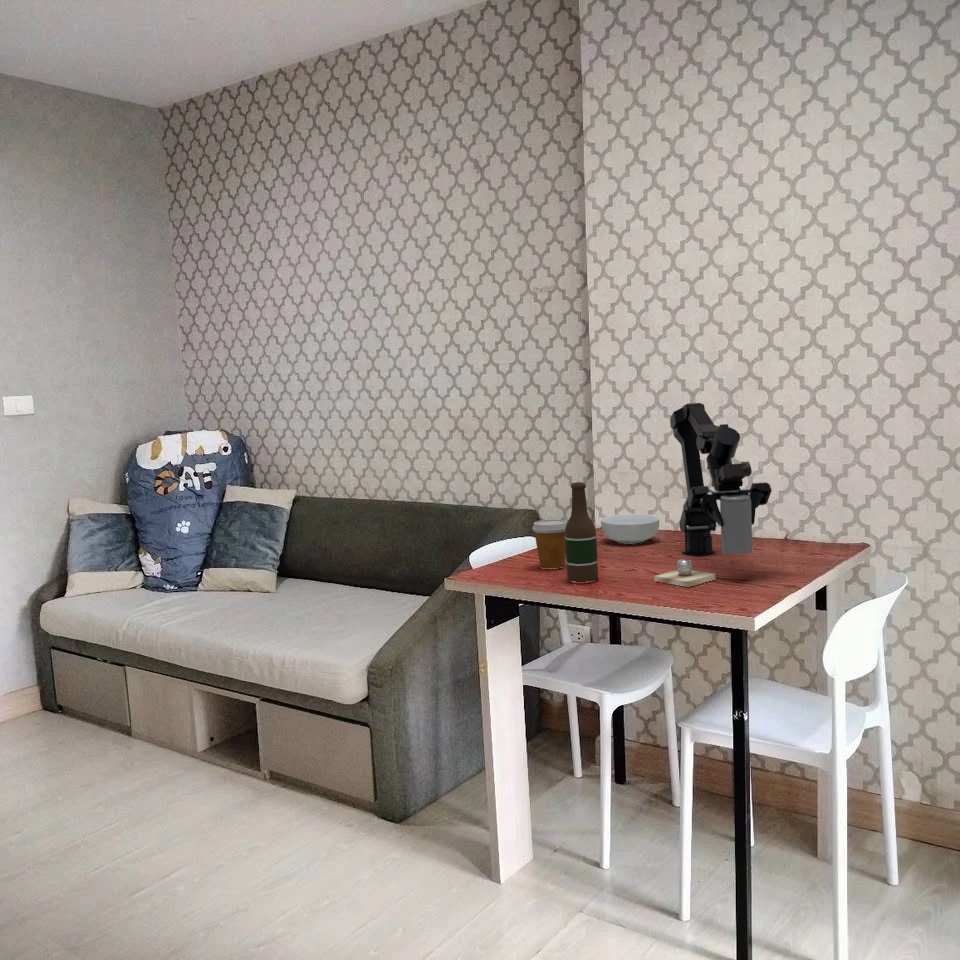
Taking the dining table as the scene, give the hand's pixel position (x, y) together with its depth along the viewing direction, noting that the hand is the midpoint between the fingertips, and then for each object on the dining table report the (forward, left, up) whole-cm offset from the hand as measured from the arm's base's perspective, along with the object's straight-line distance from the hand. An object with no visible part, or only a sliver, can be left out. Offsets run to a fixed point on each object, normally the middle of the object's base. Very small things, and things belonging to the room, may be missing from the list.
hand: (737, 524), depth 219 cm
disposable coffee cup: (-47, -15, -14) cm, 51 cm away
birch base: (-10, -7, -13) cm, 18 cm away
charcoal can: (-1, +1, -7) cm, 7 cm away
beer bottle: (-30, -21, -14) cm, 39 cm away
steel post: (-10, -7, -12) cm, 17 cm away
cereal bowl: (-54, +23, -14) cm, 60 cm away
